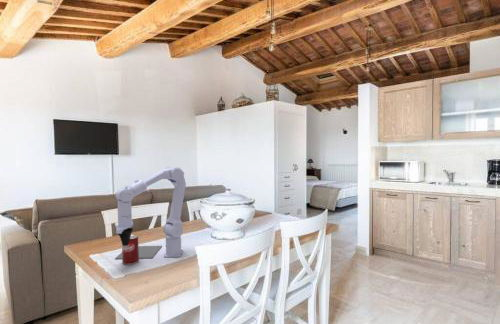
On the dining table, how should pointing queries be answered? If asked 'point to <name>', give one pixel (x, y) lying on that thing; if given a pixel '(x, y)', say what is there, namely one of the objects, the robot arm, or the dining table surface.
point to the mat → (145, 252)
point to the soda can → (131, 251)
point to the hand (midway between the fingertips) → (125, 245)
